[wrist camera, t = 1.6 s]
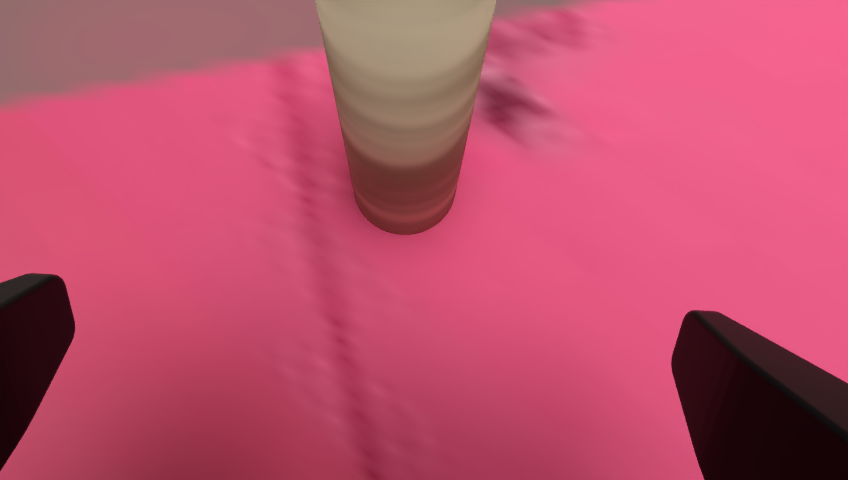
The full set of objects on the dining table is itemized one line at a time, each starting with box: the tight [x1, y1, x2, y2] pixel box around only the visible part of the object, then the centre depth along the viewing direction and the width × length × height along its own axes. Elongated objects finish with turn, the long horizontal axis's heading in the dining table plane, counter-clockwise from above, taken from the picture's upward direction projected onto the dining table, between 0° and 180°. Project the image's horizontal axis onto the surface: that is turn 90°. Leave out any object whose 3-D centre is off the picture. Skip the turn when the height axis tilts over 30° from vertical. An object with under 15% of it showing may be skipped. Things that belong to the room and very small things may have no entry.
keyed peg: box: [315, 0, 497, 234], centre depth 18 cm, size 5×4×12 cm
